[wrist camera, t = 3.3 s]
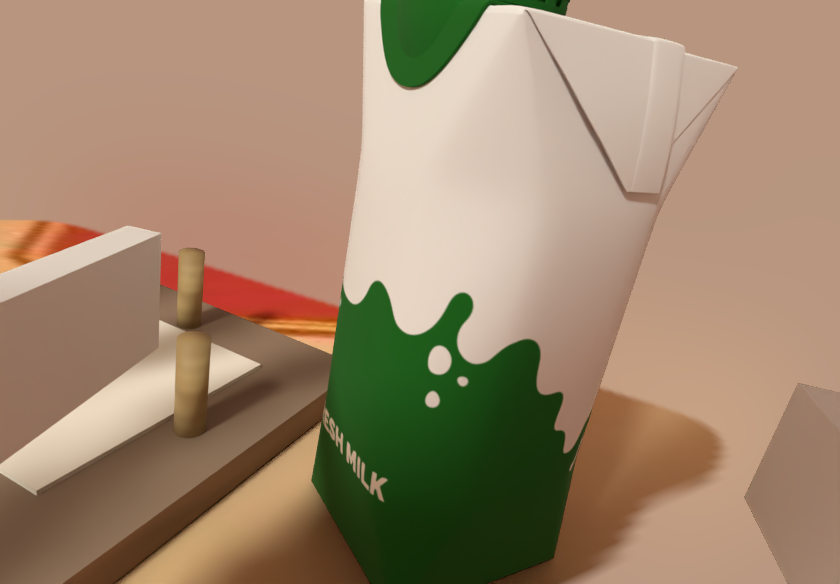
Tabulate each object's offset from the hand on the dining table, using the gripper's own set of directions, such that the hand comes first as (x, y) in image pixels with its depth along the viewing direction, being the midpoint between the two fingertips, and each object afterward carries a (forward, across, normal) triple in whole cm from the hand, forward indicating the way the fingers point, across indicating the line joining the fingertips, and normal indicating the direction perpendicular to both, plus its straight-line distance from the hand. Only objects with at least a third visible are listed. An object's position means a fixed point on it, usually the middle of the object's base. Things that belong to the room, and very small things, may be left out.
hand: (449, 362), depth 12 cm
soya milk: (+8, 0, -11) cm, 14 cm away
